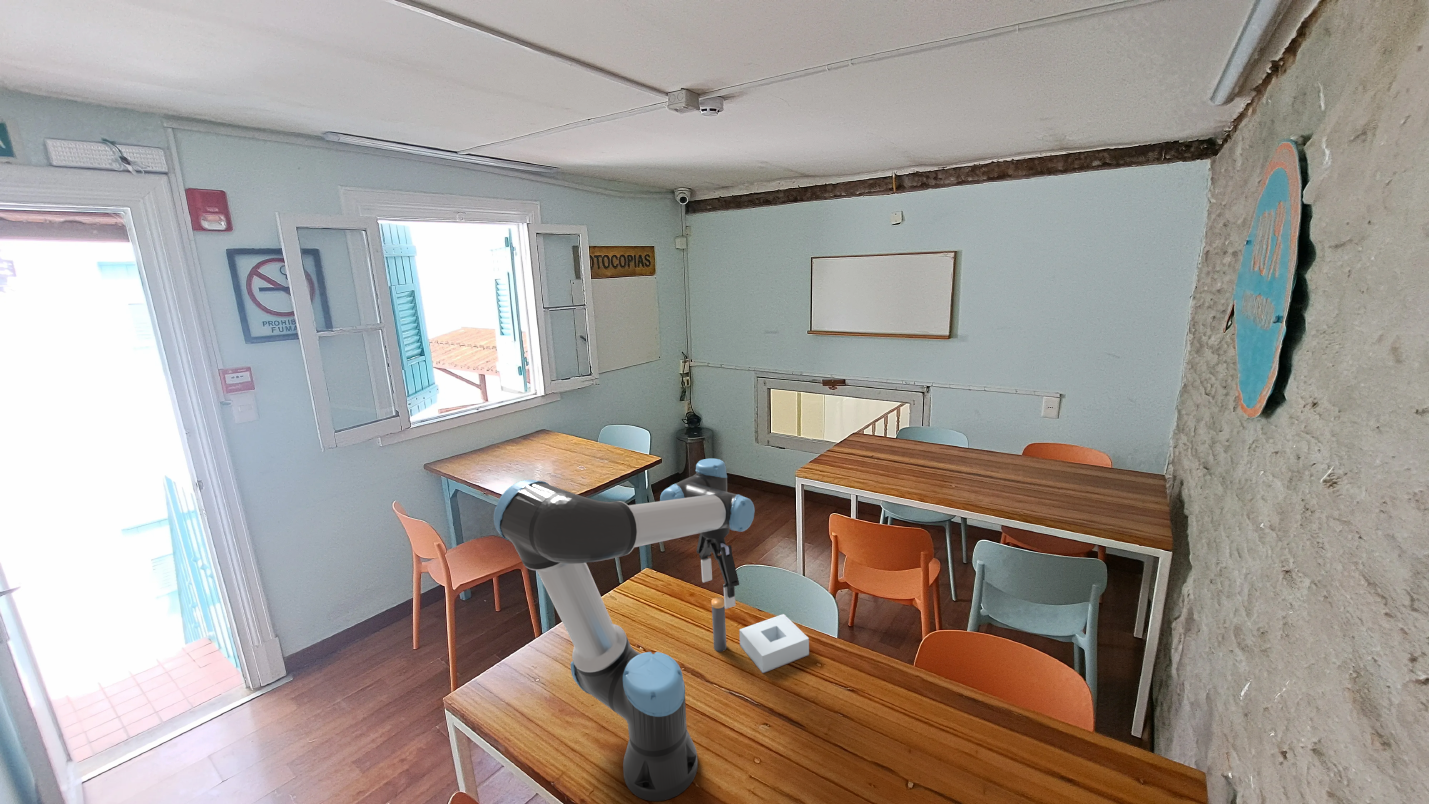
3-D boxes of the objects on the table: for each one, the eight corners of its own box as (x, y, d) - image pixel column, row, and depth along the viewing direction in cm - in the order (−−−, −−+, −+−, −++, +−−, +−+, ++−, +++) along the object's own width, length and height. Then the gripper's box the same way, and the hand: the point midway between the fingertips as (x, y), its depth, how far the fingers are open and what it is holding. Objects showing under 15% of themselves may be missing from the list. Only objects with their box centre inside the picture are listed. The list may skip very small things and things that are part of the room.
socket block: (808, 654, 143) (808, 638, 142) (762, 673, 137) (762, 656, 136) (783, 629, 153) (783, 613, 152) (740, 645, 148) (739, 629, 146)
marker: (728, 649, 146) (726, 602, 143) (717, 653, 145) (714, 606, 142) (723, 641, 150) (720, 596, 146) (711, 645, 148) (709, 599, 145)
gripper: (751, 535, 129) (754, 613, 134) (706, 498, 151) (710, 567, 156) (722, 543, 126) (727, 623, 131) (681, 504, 148) (686, 574, 153)
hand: (718, 593), depth 144 cm, fingers open, 13 cm apart
